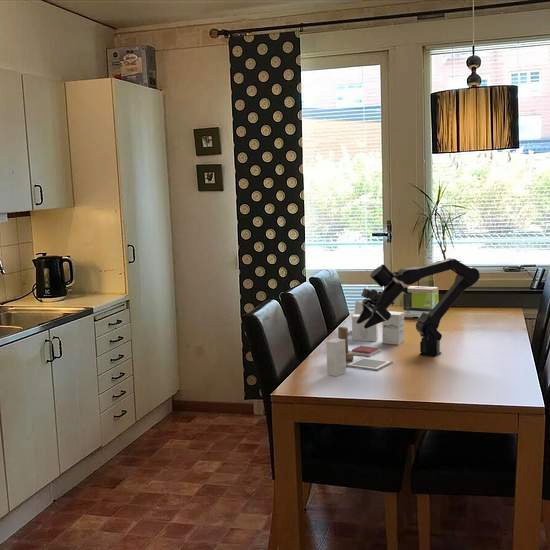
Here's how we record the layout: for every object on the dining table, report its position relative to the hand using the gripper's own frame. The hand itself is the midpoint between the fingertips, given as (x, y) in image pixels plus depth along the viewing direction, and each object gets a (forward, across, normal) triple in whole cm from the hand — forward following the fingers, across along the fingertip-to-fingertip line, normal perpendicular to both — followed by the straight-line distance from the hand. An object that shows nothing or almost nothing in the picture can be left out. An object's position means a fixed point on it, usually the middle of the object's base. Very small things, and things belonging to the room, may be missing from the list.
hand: (360, 325), depth 260 cm
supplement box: (-6, -23, +24) cm, 34 cm away
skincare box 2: (+1, -32, +17) cm, 37 cm away
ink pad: (+6, -9, +12) cm, 16 cm away
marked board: (+9, +9, +9) cm, 16 cm away
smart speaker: (-2, -48, +21) cm, 53 cm away
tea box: (-28, -74, +47) cm, 92 cm away
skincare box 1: (+20, +18, -1) cm, 26 cm away
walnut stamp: (+14, 0, +4) cm, 15 cm away
